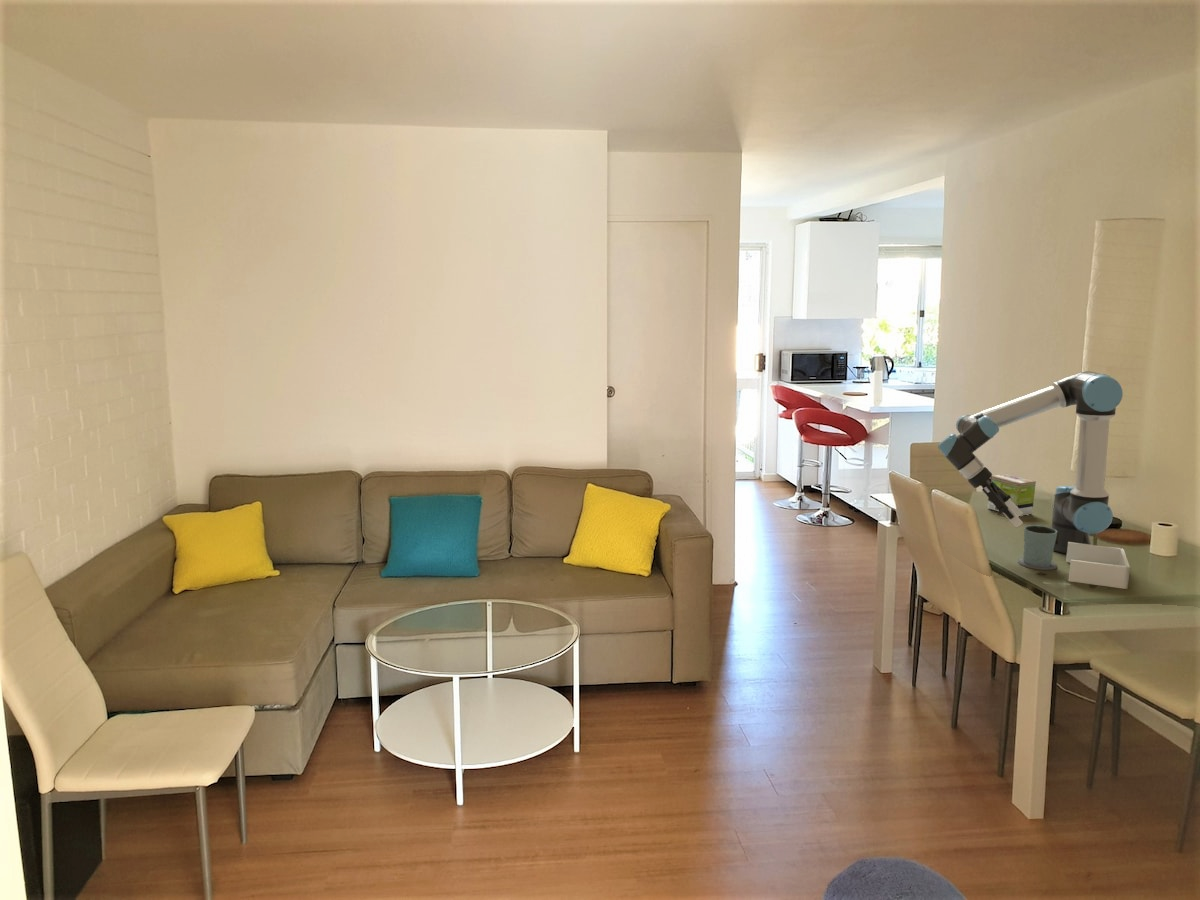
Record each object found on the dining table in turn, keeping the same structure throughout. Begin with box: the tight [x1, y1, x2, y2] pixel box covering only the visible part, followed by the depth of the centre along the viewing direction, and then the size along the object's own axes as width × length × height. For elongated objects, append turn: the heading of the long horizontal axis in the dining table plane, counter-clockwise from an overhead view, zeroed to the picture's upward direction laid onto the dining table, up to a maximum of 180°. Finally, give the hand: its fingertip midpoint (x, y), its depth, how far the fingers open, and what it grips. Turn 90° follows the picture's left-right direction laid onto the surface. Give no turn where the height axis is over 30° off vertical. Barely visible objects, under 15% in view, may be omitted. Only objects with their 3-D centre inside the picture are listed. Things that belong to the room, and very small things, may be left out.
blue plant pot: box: [1022, 524, 1057, 567], centre depth 298 cm, size 10×10×12 cm
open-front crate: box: [1065, 542, 1131, 590], centre depth 288 cm, size 23×16×7 cm
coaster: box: [1017, 557, 1058, 571], centre depth 299 cm, size 12×12×1 cm
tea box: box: [987, 473, 1037, 517], centre depth 367 cm, size 15×10×15 cm
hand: (1019, 520), depth 299 cm, fingers open, 13 cm apart
